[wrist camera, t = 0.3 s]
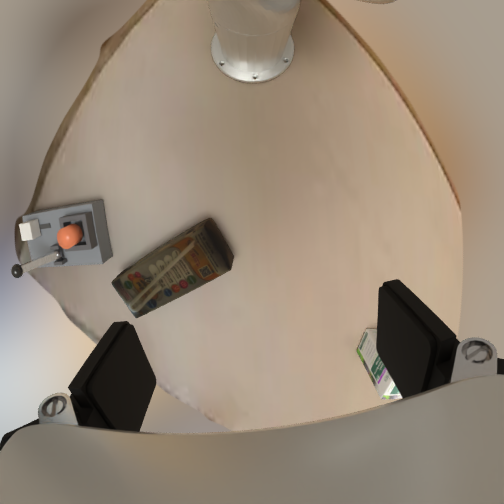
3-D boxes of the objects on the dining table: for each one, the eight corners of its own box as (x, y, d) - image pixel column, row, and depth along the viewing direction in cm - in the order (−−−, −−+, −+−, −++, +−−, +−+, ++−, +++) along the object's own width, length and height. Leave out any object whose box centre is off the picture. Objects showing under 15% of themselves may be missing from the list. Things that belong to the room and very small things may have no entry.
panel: (34, 211, 44) (15, 219, 38) (103, 199, 44) (84, 206, 38) (45, 260, 47) (27, 271, 41) (112, 255, 47) (96, 268, 41)
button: (65, 224, 39) (55, 229, 36) (80, 222, 39) (70, 227, 36) (69, 243, 40) (59, 249, 37) (84, 242, 40) (74, 248, 37)
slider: (27, 221, 40) (19, 224, 38) (37, 219, 40) (29, 222, 38) (30, 237, 41) (22, 241, 39) (41, 235, 41) (32, 239, 39)
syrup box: (365, 327, 52) (393, 375, 38) (390, 329, 52) (421, 374, 39) (355, 350, 54) (379, 400, 40) (380, 351, 54) (406, 398, 40)
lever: (58, 246, 42) (8, 265, 34) (62, 247, 41) (11, 267, 33) (60, 258, 43) (12, 278, 35) (65, 259, 42) (15, 281, 34)
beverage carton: (121, 268, 48) (106, 283, 42) (211, 213, 45) (205, 223, 39) (146, 304, 50) (135, 323, 44) (237, 256, 48) (235, 271, 41)
